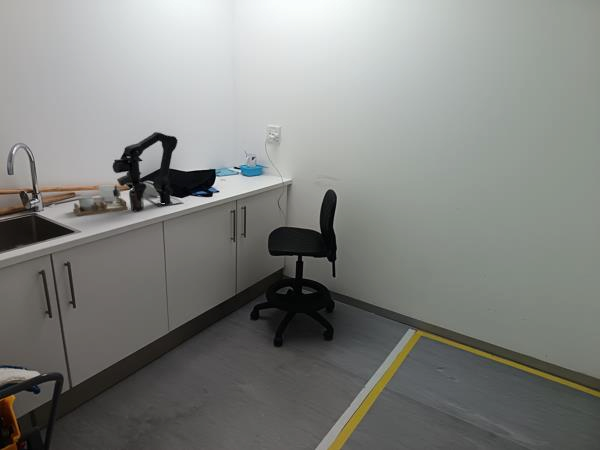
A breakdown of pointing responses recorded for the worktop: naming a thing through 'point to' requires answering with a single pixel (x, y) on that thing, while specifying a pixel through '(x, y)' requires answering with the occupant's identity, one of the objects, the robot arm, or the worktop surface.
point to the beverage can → (135, 201)
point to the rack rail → (97, 206)
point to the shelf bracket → (110, 193)
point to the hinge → (150, 189)
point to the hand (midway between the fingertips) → (136, 198)
